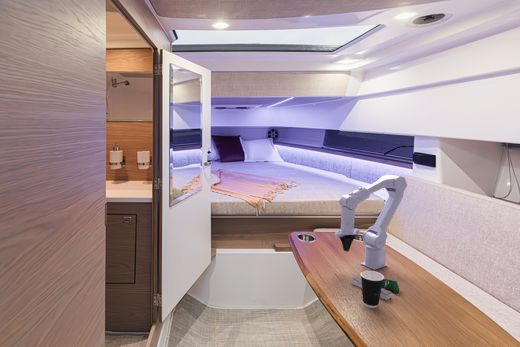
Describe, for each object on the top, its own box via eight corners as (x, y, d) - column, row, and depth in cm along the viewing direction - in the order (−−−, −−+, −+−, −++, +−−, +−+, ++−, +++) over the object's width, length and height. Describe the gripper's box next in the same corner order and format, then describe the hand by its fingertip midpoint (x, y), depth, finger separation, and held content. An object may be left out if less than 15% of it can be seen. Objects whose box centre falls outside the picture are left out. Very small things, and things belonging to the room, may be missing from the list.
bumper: (356, 281, 131) (357, 276, 131) (391, 298, 118) (391, 292, 117) (351, 283, 129) (352, 278, 129) (386, 300, 116) (386, 294, 116)
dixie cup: (383, 312, 108) (385, 281, 107) (358, 308, 110) (360, 278, 109) (381, 301, 115) (383, 272, 114) (358, 297, 118) (360, 269, 117)
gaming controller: (398, 297, 122) (399, 282, 126) (398, 293, 120) (399, 278, 123) (373, 292, 126) (374, 278, 130) (373, 288, 123) (374, 274, 127)
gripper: (343, 225, 135) (341, 256, 136) (365, 221, 143) (363, 250, 144) (331, 222, 141) (329, 251, 142) (353, 218, 149) (351, 246, 150)
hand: (346, 250), depth 144 cm, fingers closed
